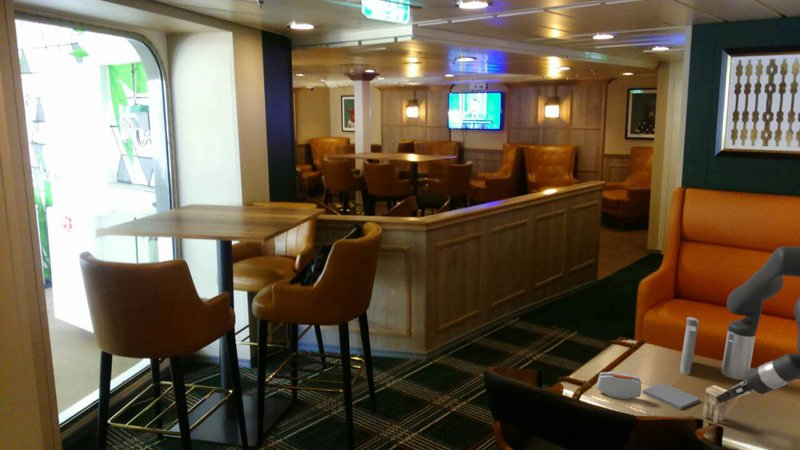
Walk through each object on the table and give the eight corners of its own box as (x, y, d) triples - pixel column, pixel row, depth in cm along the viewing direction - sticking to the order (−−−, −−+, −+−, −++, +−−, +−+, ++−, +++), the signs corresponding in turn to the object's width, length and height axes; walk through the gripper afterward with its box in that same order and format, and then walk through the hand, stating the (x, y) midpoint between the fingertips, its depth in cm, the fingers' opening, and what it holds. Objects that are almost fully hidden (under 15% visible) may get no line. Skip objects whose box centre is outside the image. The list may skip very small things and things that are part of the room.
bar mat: (662, 385, 225) (662, 382, 225) (699, 401, 214) (699, 398, 214) (642, 392, 218) (643, 390, 218) (680, 409, 207) (680, 406, 207)
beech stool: (709, 413, 206) (714, 385, 204) (724, 419, 202) (728, 390, 200) (701, 417, 203) (706, 388, 201) (716, 423, 199) (721, 394, 197)
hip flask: (689, 375, 235) (697, 325, 231) (677, 373, 237) (685, 323, 233) (692, 361, 249) (699, 314, 245) (681, 359, 251) (688, 311, 247)
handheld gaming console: (639, 398, 214) (642, 376, 213) (640, 401, 211) (643, 379, 210) (595, 390, 218) (598, 369, 216) (596, 394, 215) (598, 372, 214)
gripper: (771, 360, 193) (729, 381, 204) (749, 370, 185) (706, 390, 196) (787, 383, 190) (743, 402, 201) (765, 393, 182) (720, 413, 193)
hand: (725, 396), depth 199 cm, fingers open, 8 cm apart
